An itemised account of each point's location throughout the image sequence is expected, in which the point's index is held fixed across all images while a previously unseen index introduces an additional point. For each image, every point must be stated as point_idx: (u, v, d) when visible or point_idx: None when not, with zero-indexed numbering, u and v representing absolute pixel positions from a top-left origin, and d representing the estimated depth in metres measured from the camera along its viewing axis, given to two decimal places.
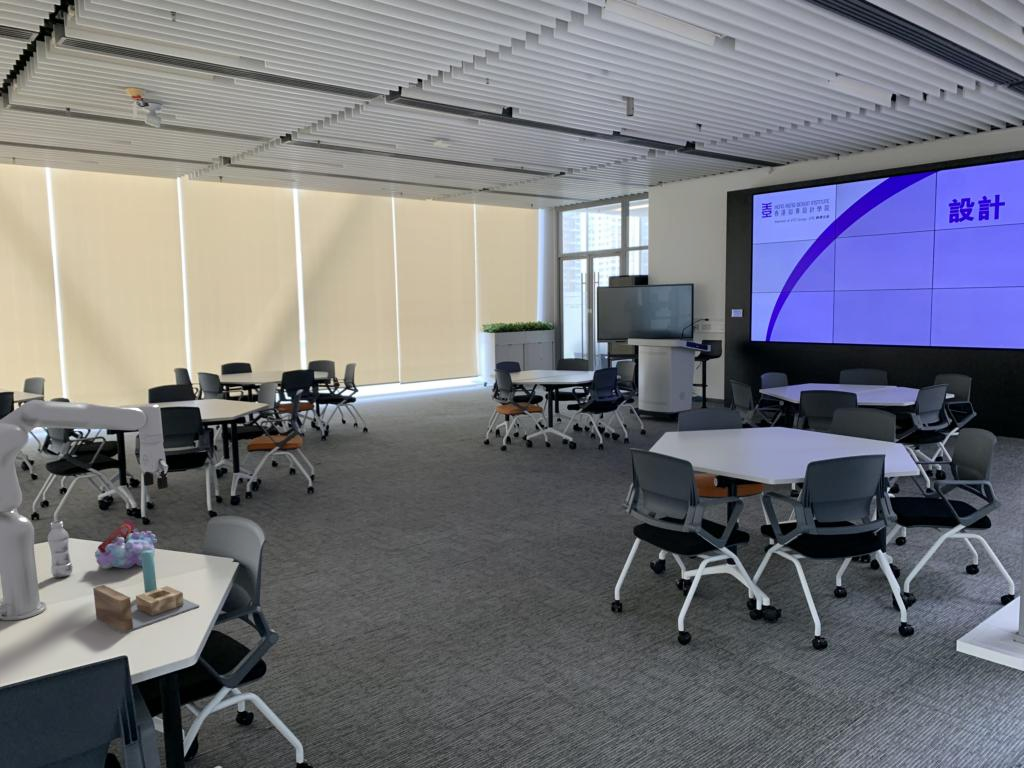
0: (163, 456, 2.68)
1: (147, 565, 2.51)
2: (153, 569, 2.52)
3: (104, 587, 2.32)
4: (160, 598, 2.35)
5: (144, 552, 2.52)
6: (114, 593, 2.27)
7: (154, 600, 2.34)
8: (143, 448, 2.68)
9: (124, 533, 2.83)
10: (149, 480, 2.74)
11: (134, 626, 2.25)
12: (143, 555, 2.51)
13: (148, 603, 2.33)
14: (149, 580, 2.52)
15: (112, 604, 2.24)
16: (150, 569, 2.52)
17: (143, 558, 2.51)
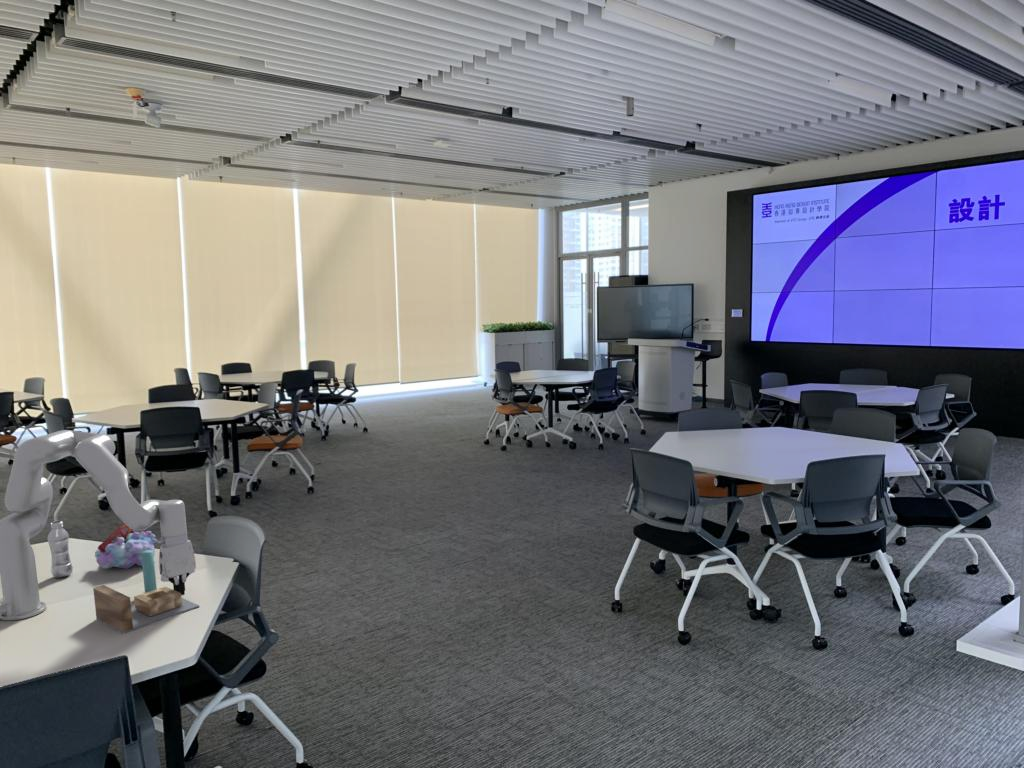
0: None
1: (147, 565, 2.51)
2: (153, 569, 2.52)
3: (104, 587, 2.32)
4: (158, 599, 2.35)
5: (144, 552, 2.52)
6: (114, 593, 2.27)
7: (152, 601, 2.33)
8: (176, 550, 2.40)
9: (124, 533, 2.83)
10: None
11: (134, 626, 2.25)
12: (143, 555, 2.51)
13: (146, 604, 2.32)
14: (149, 580, 2.52)
15: (112, 604, 2.24)
16: (150, 569, 2.52)
17: (143, 558, 2.51)
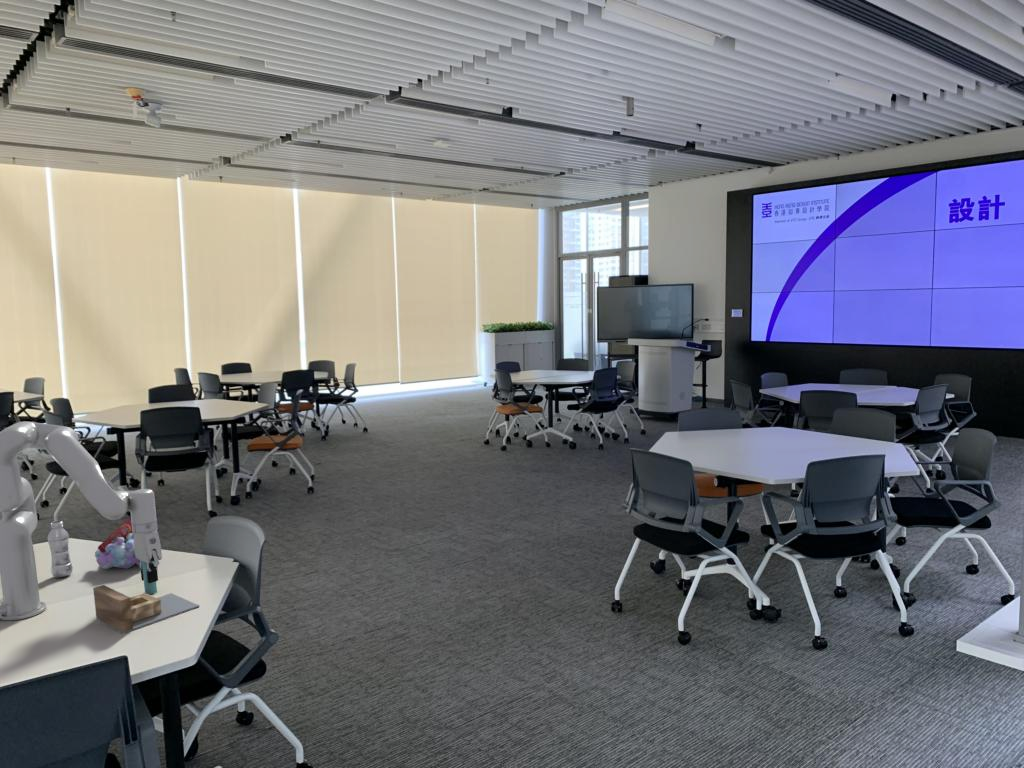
0: None
1: None
2: None
3: (104, 587, 2.32)
4: (137, 606, 2.30)
5: None
6: (114, 593, 2.27)
7: (131, 608, 2.28)
8: None
9: (124, 533, 2.83)
10: None
11: (134, 626, 2.25)
12: None
13: None
14: None
15: (112, 604, 2.24)
16: None
17: None
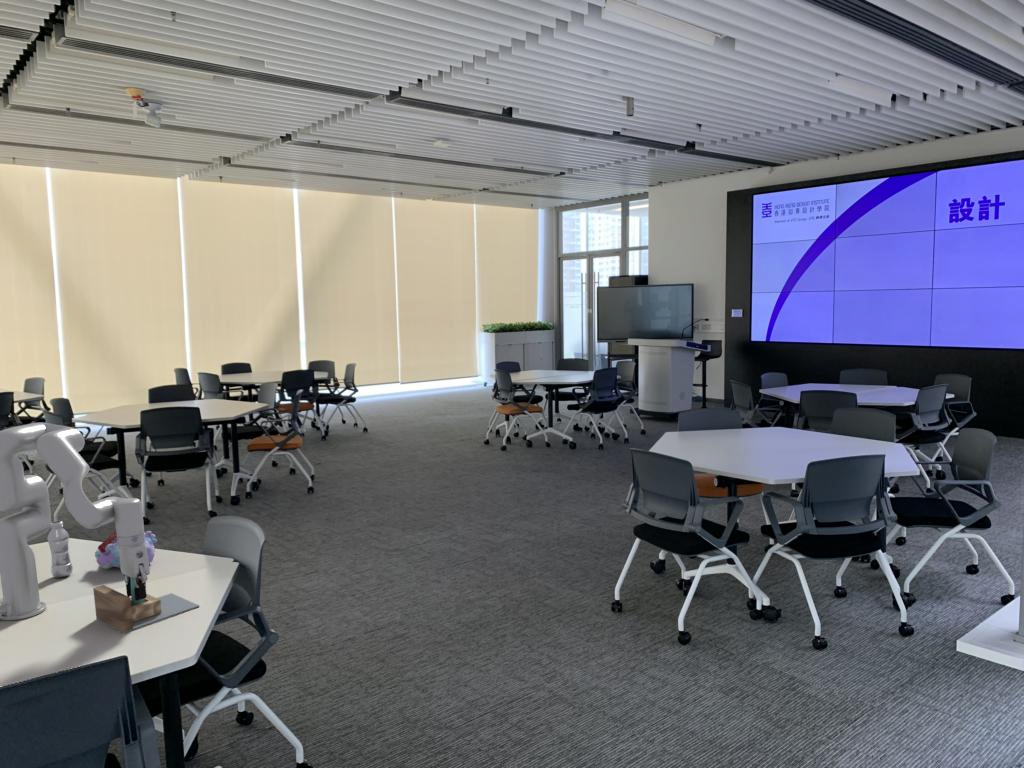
0: None
1: None
2: None
3: (104, 587, 2.32)
4: (137, 606, 2.30)
5: None
6: (114, 593, 2.27)
7: (131, 608, 2.28)
8: None
9: None
10: None
11: (134, 626, 2.25)
12: None
13: None
14: (137, 602, 2.32)
15: (112, 604, 2.24)
16: None
17: (132, 578, 2.31)
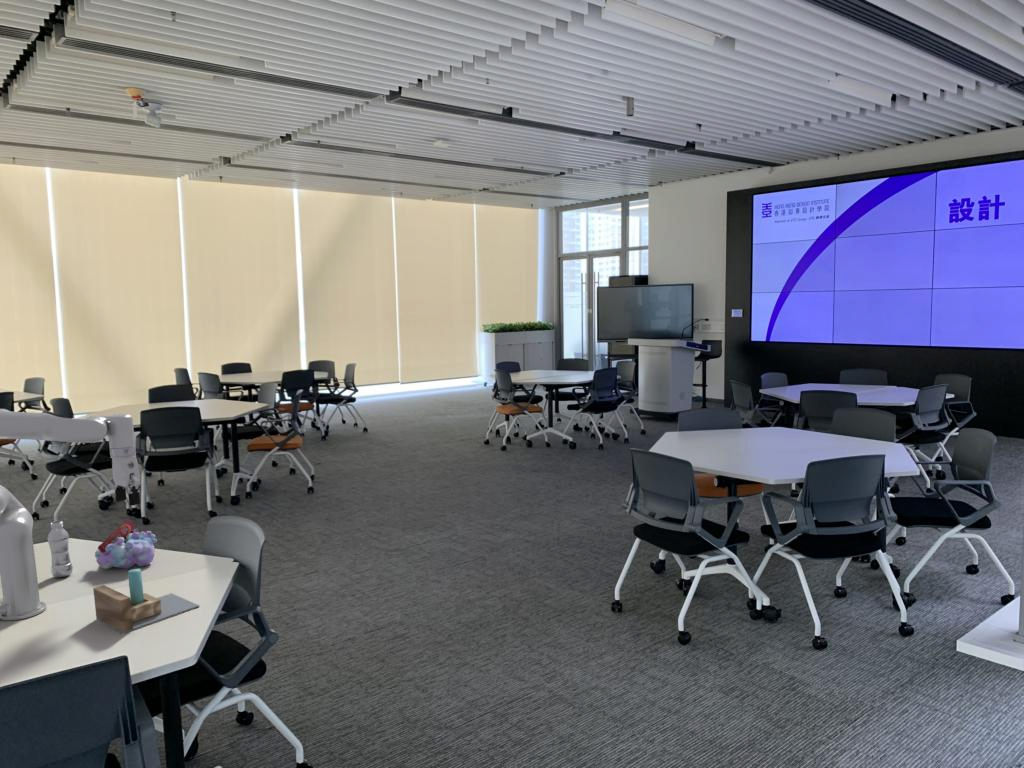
0: None
1: (134, 585, 2.31)
2: (141, 589, 2.33)
3: (104, 587, 2.32)
4: (137, 606, 2.30)
5: (131, 571, 2.32)
6: (114, 593, 2.27)
7: (131, 608, 2.28)
8: None
9: (124, 533, 2.83)
10: None
11: (134, 626, 2.25)
12: (130, 575, 2.31)
13: None
14: (136, 602, 2.32)
15: (112, 604, 2.24)
16: (138, 590, 2.32)
17: (130, 578, 2.31)
